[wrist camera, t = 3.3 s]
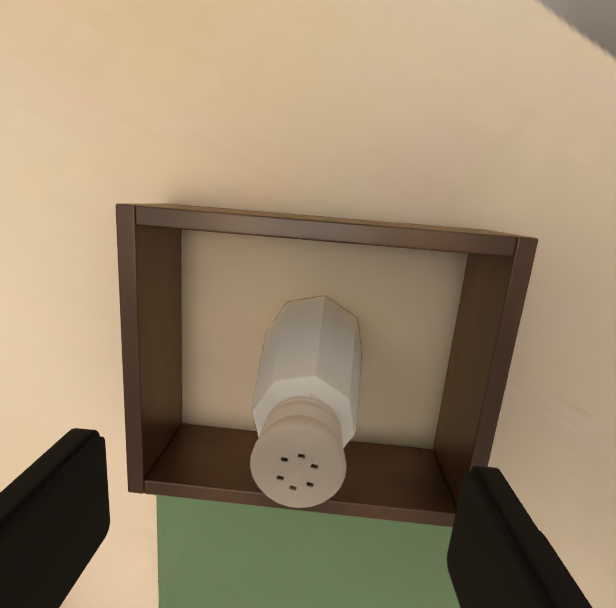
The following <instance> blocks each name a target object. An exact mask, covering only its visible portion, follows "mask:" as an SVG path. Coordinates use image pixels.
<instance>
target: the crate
mask: <svg viewBox="0 0 616 608" xmlns="http://www.w3.org/2000/svg"><path fill="white" fill-rule="evenodd" d="M116 225H117V248H118V270H119V293H120V316H121V339H122V362H123V385H124V407H125V430H126V453H127V476H128V492H133V493H145V494H153V495H162V496H171V497H180V498H189V499H198V500H208V501H217V502H226V503H235V504H244V505H253V506H262V507H271V508H281V509H290V510H299V511H308V512H317V513H326V514H335V515H344V516H354V517H363V518H372V519H381V520H390V521H399V522H408V523H417V524H427V525H436V526H445V527H453V523H454V519H455V514H456V509H457V504H458V500H459V495H460V490H461V485H462V481H463V476H464V473H465V472H466V471H471V469H472V467H473V466H482V467H488V462H489V458H490V453H491V449H492V444H493V440H494V435H495V431H496V426H497V422H498V418H499V413H500V409H501V404H502V400H503V395H504V391H505V386H506V382H507V377H508V373H509V368H510V364H511V359H512V355H513V351H514V346H515V342H516V337H517V333H518V328H519V324H520V319H521V315H522V310H523V306H524V301H525V297H526V292H527V288H528V284H529V279H530V275H531V270H532V266H533V261H534V257H535V252H536V248H537V243H538V239H537V238H533V237H526V236H520V235H514V234H508V233H502V232H496V231H490V230H480V229H468V228H455V227H443V226H431V225H419V224H407V223H394V222H382V221H370V220H358V219H346V218H333V217H321V216H309V215H297V214H285V213H272V212H260V211H248V210H236V209H224V208H211V207H199V206H187V205H175V204H116ZM181 229H184V230H196V231H207V232H219V233H231V234H243V235H255V236H267V237H279V238H291V239H302V240H314V241H326V242H338V243H350V244H362V245H374V246H386V247H397V248H409V249H421V250H433V251H445V252H457V253H469V255H468V260H467V266H466V271H465V277H464V282H463V288H462V293H461V299H460V305H459V310H458V316H457V321H456V327H455V332H454V338H453V343H452V349H451V354H450V360H449V365H448V371H447V376H446V382H445V387H444V393H443V398H442V404H441V409H440V415H439V420H438V426H437V431H436V437H435V442H434V448H433V450H428V449H419V448H409V447H399V446H389V445H380V444H370V443H360V442H350V441H349V442H348V443H347V444H346V446H345V447H344V448H343V450H344V454H345V460H346V466H347V467H346V475H345V479H344V481H343V483H342V486H341V488H340V489H339V490H338V491H337V492H336V493H335V494H334V496H332V497H331V498H329V499H328V500H326V501H325V502H323V503H321V504H318V505H315V506H312V507H305V508H296V507H288V506H285V505H282V504H279V503H277V502H275V501H274V500H272V499H271V498H269V497H268V496H266V495H265V494H264V493H263V492H262V490H261V489H260V488H259V487H258V486H257V484H256V482H255V480H254V479H253V476H252V472H251V468H250V460H251V454H252V451H253V448H254V446H255V443H256V441H257V440H258V438H259V437H258V433H257V432H253V431H243V430H233V429H224V428H214V427H204V426H195V425H185V424H182V425H181Z"/></svg>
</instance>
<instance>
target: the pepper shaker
mask: <svg viewBox="0 0 616 608" xmlns="http://www.w3.org/2000/svg"><path fill="white" fill-rule="evenodd" d="M361 359H362V351H361V344H360V338H359V332H358V325H357V319H356V317H355V316H353V315H352V314H350V313H349V312H347V311H346V310H345V309H343V308H342V307H340V306H339V305H337V304H336V303H334V302H333V301H332V300H330V299H329V298H327V297H326V296H321V297H315V298H309V299H303V300H296V301H290V302H287V303H286V304H285V306H284V307H283V308H282V310H281V311H280V313H279V314H278V316H277V317H276V318H275V320H274V321H273V323H272V324H271V325H270V327H269V328H268V330H267V331H266V335H265V340H264V346H263V351H262V356H261V362H260V367H259V372H258V378H257V383H256V388H255V394H254V399H253V410H252V412H253V416H254V420H255V425H256V429H257V433H258V437H259V438H258V440H257V441H256V443H255V446H254V448H253V451H252V454H251V460H250V468H251V472H252V476H253V479H254V480H255V482H256V484H257V486H258V487H259V488H260V489H261V490H262V492H263V493H264V494H265V495H266V496H268V497H269V498H271V499H272V500H274V501H275V502H277V503H279V504H282V505H285V506H288V507H296V508H305V507H312V506H315V505H318V504H321V503H323V502H325V501H326V500H328V499H329V498H331V497H332V496H334V494H335V493H336V492H337V491H338V490H339V489H340V488H341V486H342V483H343V481H344V479H345V475H346V467H347V466H346V460H345V454H344V450H343V448H344V447H345V446H346V444H347V443H348V442H349V441H350V440H351V438H352V437H353V436H354V435H355V431H356V425H357V414H358V400H359V386H360V373H361Z"/></svg>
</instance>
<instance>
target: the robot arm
mask: <svg viewBox="0 0 616 608" xmlns="http://www.w3.org/2000/svg"><path fill="white" fill-rule="evenodd" d="M109 525H110V512H109V496H108V480H107V464H106V447H105V439H104V437H100V435H99V433H98V431H96V430H89V429H78V428H74V429H71V430H70V431H69V432H68V433H66V434H65V435H64V436H63V437H62V438H61V439H60V440H59V441H57V442H56V443H55V444H54V445H53V446H52V447H51V448H50V449H49V450H47V451H46V452H45V453H44V454H43V455H42V456H41V457H40V458H38V459H37V460H36V461H35V462H34V463H33V464H32V465H31V466H30V467H28V468H27V469H26V470H25V471H24V472H23V473H22V474H21V475H19V476H18V477H17V478H16V479H15V480H14V481H13V482H12V483H10V484H9V485H8V486H7V487H6V488H5V489H4V490H3V491H2V492H0V608H59V607H60V606H61V604H62V602H63V601H64V599H65V598H66V596H67V595H68V593H69V592H70V590H71V589H72V587H73V586H74V584H75V583H76V581H77V580H78V578H79V577H80V575H81V574H82V572H83V570H84V569H85V567H86V566H87V564H88V563H89V561H90V560H91V558H92V557H93V555H94V554H95V552H96V551H97V549H98V548H99V546H100V545H101V543H102V542H103V540H104V538H105V537H106V535H107V532H108V529H109ZM447 567H448V572H449V575H450V578H451V581H452V584H453V587H454V590H455V593H456V596H457V599H458V602H459V605H460V608H592V606H591V605H590V603H589V602H588V600H587V599H586V597H585V596H584V594H583V593H582V591H581V590H580V588H579V587H578V585H577V584H576V582H575V581H574V579H573V578H572V576H571V575H570V573H569V572H568V570H567V569H566V567H565V565H564V564H563V562H562V561H561V559H560V558H559V556H558V555H557V553H556V552H555V550H554V549H553V547H552V546H551V544H550V543H549V541H548V540H547V538H546V537H545V536H544V534H543V533H542V532H541V531H539V530H538V528H537V527H536V525H535V524H534V522H533V520H532V519H531V517H530V516H529V514H528V513H527V511H526V510H525V508H524V507H523V505H522V504H521V502H520V501H519V499H518V497H517V496H516V494H515V493H514V491H513V490H512V488H511V487H510V485H509V484H508V482H507V481H506V479H505V478H504V476H503V474H502V473H501V471H500V470H499V469H497V468H492V467H482V466H473V467H472V469H471V471H466V472H465V473H464V476H463V481H462V485H461V490H460V495H459V500H458V504H457V509H456V514H455V519H454V523H453V528H452V533H451V538H450V543H449V547H448V552H447Z"/></svg>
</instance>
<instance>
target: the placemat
mask: <svg viewBox="0 0 616 608" xmlns="http://www.w3.org/2000/svg"><path fill="white" fill-rule="evenodd" d="M452 528H453V527H445V526H436V525H427V524H417V523H408V522H399V521H390V520H381V519H372V518H363V517H354V516H344V515H335V514H326V513H317V512H308V511H299V510H290V509H281V508H271V507H262V506H253V505H244V504H235V503H226V502H217V501H208V500H198V499H189V498H180V497H171V496H162V495H157V539H158V584H159V608H460V605H459V602H458V599H457V596H456V593H455V590H454V587H453V584H452V581H451V578H450V575H449V572H448V567H447V552H448V547H449V543H450V538H451V533H452Z"/></svg>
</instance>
